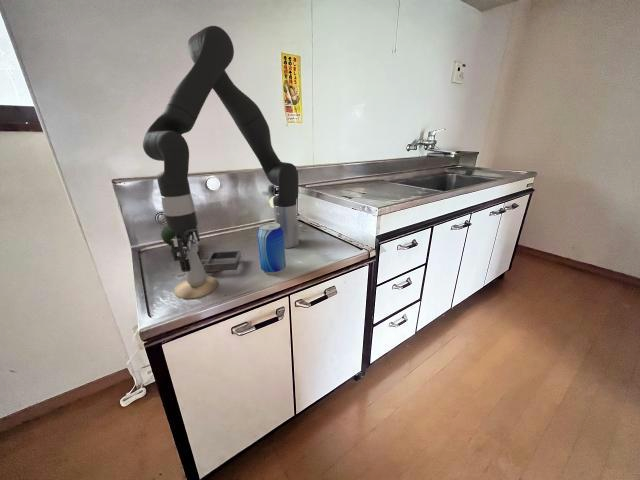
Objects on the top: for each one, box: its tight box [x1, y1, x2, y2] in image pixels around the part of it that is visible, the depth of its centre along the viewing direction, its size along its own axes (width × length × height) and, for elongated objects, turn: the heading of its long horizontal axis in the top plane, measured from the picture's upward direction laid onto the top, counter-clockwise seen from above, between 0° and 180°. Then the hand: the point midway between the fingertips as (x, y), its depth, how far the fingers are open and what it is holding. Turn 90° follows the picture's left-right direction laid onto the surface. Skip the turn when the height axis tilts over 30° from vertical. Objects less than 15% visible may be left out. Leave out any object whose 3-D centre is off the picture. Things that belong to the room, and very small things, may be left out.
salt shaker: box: [183, 243, 208, 287], centre depth 79 cm, size 6×6×13 cm
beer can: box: [256, 222, 287, 276], centre depth 87 cm, size 8×8×16 cm
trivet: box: [173, 275, 219, 300], centre depth 80 cm, size 12×12×1 cm
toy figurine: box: [160, 224, 175, 254], centre depth 100 cm, size 9×19×25 cm
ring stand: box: [200, 250, 242, 273], centre depth 87 cm, size 16×10×22 cm, turn 97°
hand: (191, 264), depth 77 cm, fingers open, 8 cm apart
